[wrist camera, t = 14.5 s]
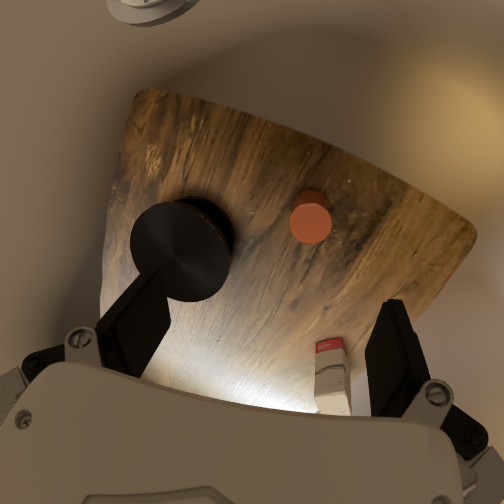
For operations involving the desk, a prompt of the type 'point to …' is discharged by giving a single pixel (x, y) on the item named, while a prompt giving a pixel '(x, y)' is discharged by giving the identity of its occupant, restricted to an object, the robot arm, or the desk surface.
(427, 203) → the desk surface
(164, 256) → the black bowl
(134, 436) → the robot arm
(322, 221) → the orange cylinder
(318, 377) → the ink box
